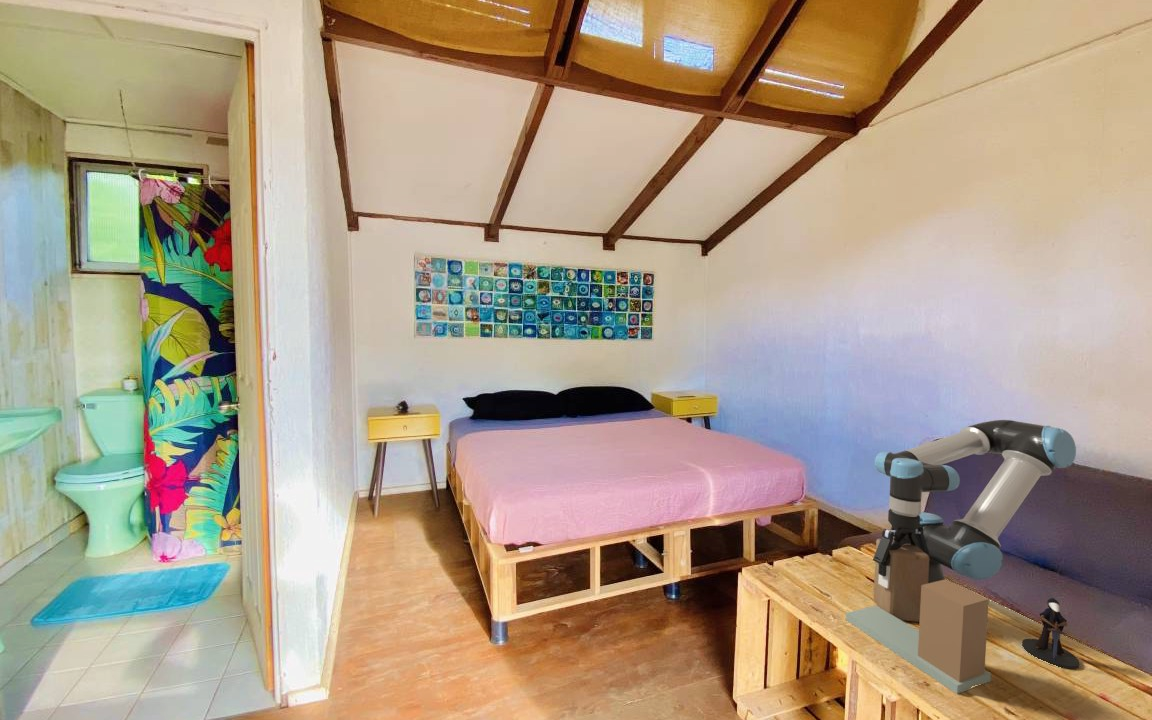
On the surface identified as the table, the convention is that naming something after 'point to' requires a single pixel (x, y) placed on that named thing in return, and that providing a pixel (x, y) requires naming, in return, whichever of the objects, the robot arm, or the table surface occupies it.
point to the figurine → (1053, 650)
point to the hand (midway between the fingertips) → (900, 582)
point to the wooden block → (903, 582)
